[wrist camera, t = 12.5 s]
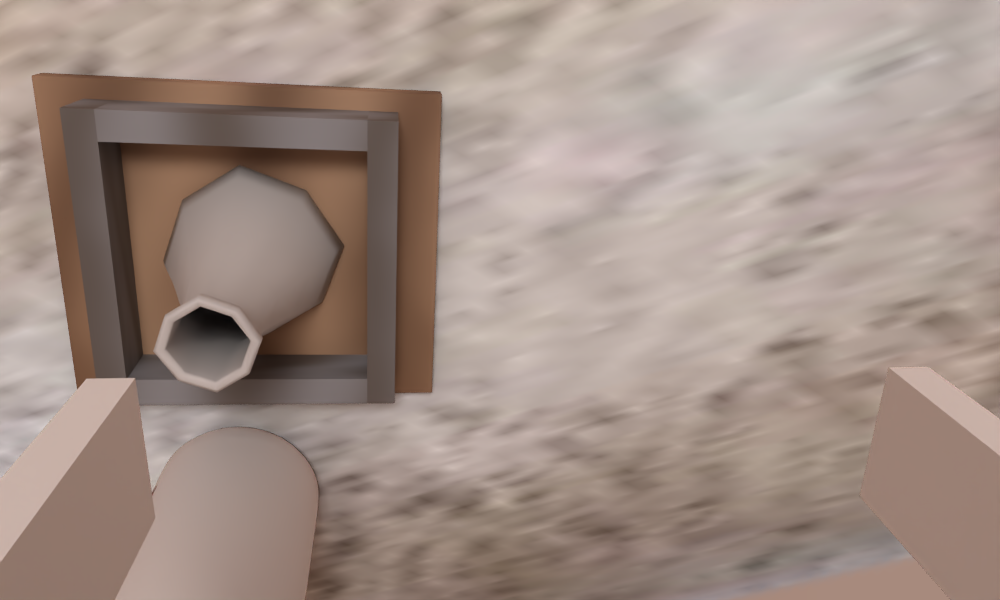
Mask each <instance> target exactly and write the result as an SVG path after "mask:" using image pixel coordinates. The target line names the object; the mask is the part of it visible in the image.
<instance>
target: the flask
mask: <svg viewBox="0 0 1000 600" xmlns="http://www.w3.org/2000/svg"><path fill="white" fill-rule="evenodd" d="M343 247H344V244H343V243H342V241H341V240H340V238H339V237H338V235H337V234H336V232H335V231H334V230H333V228H332V227H331V225H330V224H329V222H328V221H327V219H326V218H325V216H324V215H323V214H322V212H321V211H320V209H319V208H318V206H317V205H316V203H315V202H314V201H313V199H312V198H311V196H310V195H309V193H308V192H307V190H304V189H302V188H299V187H296V186H294V185H291V184H289V183H286V182H283V181H281V180H278V179H275V178H273V177H270V176H267V175H265V174H262V173H259V172H257V171H254V170H252V169H249V168H246V167H244V166H241V165H239V166H237V167H235V168H234V169H232V170H230V171H229V172H227V173H226V174H224V175H222V176H221V177H219V178H217V179H216V180H214V181H212V182H211V183H209V184H207V185H206V186H204V187H203V188H201V189H199V190H198V191H196V192H194V193H193V194H191V195H189V196H188V197H186V198H184V199H183V200H182V202H181V205H180V208H179V211H178V215H177V218H176V221H175V224H174V227H173V230H172V234H171V237H170V240H169V243H168V246H167V250H166V253H165V256H164V259H163V262H164V265H165V267H166V270H167V272H168V274H169V276H170V278H171V280H172V282H173V284H174V288H175V291H176V294H177V297H178V300H179V303H180V306H179V307H177V308H175V309H174V310H172V311H170V312H169V313H167V314H165V316H164V319H163V322H162V325H161V328H160V332H159V335H158V338H157V341H156V344H155V347H154V350H153V352H154V353H155V354H156V355H157V356H158V358H159V359H160V360H161V361H162V362H163V364H164V365H165V366H166V367H167V368H168V369H169V371H170V372H171V373H172V374H173V375H174V376H175V378H176V379H177V380H178V381H180V382H183V383H187V384H190V385H193V386H197V387H200V388H203V389H207V390H210V391H213V392H216V393H217V392H219V391H221V390H223V389H224V388H226V387H228V386H229V385H231V384H233V383H235V382H236V381H238V380H240V379H241V378H243V377H245V376H247V375H248V374H249V373H250V371H251V369H252V366H253V363H254V361H255V358H256V355H257V353H258V350H259V347H260V344H261V342H262V339H263V337H262V336H264V335H266V334H269V333H270V332H272V331H274V330H275V329H277V328H279V327H281V326H282V325H284V324H286V323H287V322H289V321H291V320H292V319H294V318H296V317H298V316H299V315H301V314H303V313H304V312H306V311H308V310H310V309H311V308H313V307H315V306H316V305H318V304H320V303H321V302H323V299H324V296H325V294H326V291H327V289H328V286H329V283H330V281H331V278H332V276H333V273H334V270H335V268H336V265H337V263H338V260H339V257H340V255H341V252H342V250H343Z"/></svg>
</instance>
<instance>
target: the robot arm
mask: <svg viewBox="0 0 1000 600" xmlns="http://www.w3.org/2000/svg"><path fill="white" fill-rule="evenodd" d="M860 497H861V498H862V500H863V501H864V502H865V503H866V504H867V505H868V506H869V508H870V509H871V510H872V511H873V512H874V513H875V514H876V516H877V517H878V518H879V519H880V520H881V521H882V522H883V523H884V525H885V526H886V527H887V528H888V529H889V530H890V531H891V533H892V534H893V535H894V536H895V537H896V538H897V539H898V541H899V542H900V543H901V544H902V545H903V546H904V547H905V548H906V550H907V551H908V552H909V553H910V554H911V555H912V556H913V558H914V559H915V560H916V561H917V562H918V563H919V564H920V566H921V567H922V568H923V569H924V570H925V571H926V572H927V573H928V575H929V576H930V577H931V578H932V579H933V580H934V581H935V583H936V584H937V585H938V586H939V587H940V588H941V589H942V591H943V592H944V593H945V594H946V595H947V596H948V597H949V598H950V600H1000V419H999V418H998V417H996V416H995V415H993V414H992V413H991V412H989V411H988V410H987V409H985V408H984V407H983V406H981V405H980V404H978V403H977V402H976V401H974V400H973V399H972V398H970V397H969V396H967V395H966V394H965V393H963V392H962V391H961V390H959V389H958V388H957V387H955V386H954V385H952V384H951V383H950V382H948V381H947V380H946V379H944V378H943V377H941V376H940V375H939V374H937V373H936V372H935V371H933V370H932V369H931V368H929V367H889V368H888V372H887V377H886V381H885V385H884V390H883V394H882V399H881V403H880V408H879V412H878V417H877V421H876V425H875V430H874V434H873V439H872V443H871V448H870V452H869V456H868V461H867V465H866V470H865V474H864V479H863V483H862V488H861V492H860ZM154 520H155V512H154V505H153V498H152V491H151V484H150V477H149V470H148V463H147V456H146V449H145V442H144V435H143V428H142V421H141V414H140V407H139V401H138V394H137V387H136V380H135V378H96V379H86V380H85V381H84V382H83V383H82V385H81V386H80V387H79V388H78V389H77V390H76V392H75V393H74V394H73V395H72V396H71V397H70V399H69V400H68V401H67V402H66V403H65V404H64V406H63V407H62V408H61V409H60V410H59V411H58V413H57V414H56V415H55V416H54V417H53V418H52V420H51V421H50V422H49V423H48V424H47V425H46V427H45V428H44V429H43V430H42V431H41V432H40V434H39V435H38V436H37V437H36V438H35V439H34V441H33V442H32V443H31V444H30V445H29V446H28V448H27V449H26V450H25V451H24V452H23V453H22V455H21V456H20V457H19V458H18V459H17V461H16V462H15V463H14V464H13V465H12V466H11V468H10V469H9V470H8V471H7V472H6V473H5V475H4V476H3V477H2V478H1V479H0V600H115V599H116V596H117V594H118V592H119V590H120V588H121V586H122V584H123V582H124V580H125V578H126V576H127V574H128V572H129V570H130V568H131V566H132V564H133V562H134V560H135V558H136V556H137V554H138V552H139V550H140V548H141V546H142V544H143V542H144V540H145V538H146V536H147V534H148V532H149V530H150V528H151V526H152V524H153V522H154Z"/></svg>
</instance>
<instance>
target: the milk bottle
mask: <svg viewBox="0 0 1000 600" xmlns="http://www.w3.org/2000/svg"><path fill="white" fill-rule="evenodd" d="M152 498H153V505H154V512H155V520H154V522H153V524H152V526H151V528H150V530H149V532H148V534H147V536H146V538H145V540H144V542H143V544H142V546H141V548H140V550H139V552H138V554H137V556H136V558H135V560H134V562H133V564H132V566H131V568H130V570H129V572H128V574H127V576H126V578H125V580H124V582H123V584H122V586H121V588H120V590H119V592H118V594H117V596H116V599H115V600H305V597H306V591H307V584H308V577H309V570H310V563H311V556H312V549H313V541H314V534H315V527H316V519H317V512H318V499H319V491H318V484H317V480H316V477H315V474H314V472H313V470H312V468H311V466H310V464H309V463H308V461H307V460H306V459H305V457H304V456H303V455H302V454H301V453H300V452H299V451H298V450H297V449H296V448H295V447H294V446H293V445H292V444H290V443H289V442H287V441H286V440H284V439H283V438H281V437H279V436H277V435H274V434H272V433H270V432H268V431H263V430H259V429H255V428H247V427H230V428H221V429H218V430H214V431H210V432H207V433H205V434H202V435H200V436H198V437H196V438H194V439H192V440H190V441H189V442H187V443H186V444H184V445H183V446H182V447H180V448H179V449H178V450H177V451H176V452H175V453H174V454H173V455H172V457H171V458H170V459H169V461H168V462H167V464H166V466H165V467H164V469H163V471H162V473H161V475H160V477H159V479H158V481H157V483H156V485H155V487H154V490H153V492H152Z"/></svg>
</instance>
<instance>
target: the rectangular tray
mask: <svg viewBox="0 0 1000 600" xmlns="http://www.w3.org/2000/svg"><path fill="white" fill-rule="evenodd" d="M32 81H33V88H34V95H35V102H36V109H37V116H38V122H39V129H40V136H41V143H42V150H43V157H44V164H45V171H46V178H47V184H48V191H49V198H50V205H51V212H52V219H53V226H54V233H55V240H56V246H57V253H58V260H59V267H60V274H61V281H62V288H63V295H64V302H65V308H66V315H67V322H68V329H69V336H70V343H71V350H72V357H73V364H74V370H75V377H76V384H77V389H78V388H79V387H80V386H81V385H82V383H83V382H84V381H85V380H86V379H96V378H135V380H136V387H137V394H138V401H139V405H208V404H342V403H394V402H395V393H415V392H432V370H433V340H434V311H435V281H436V251H437V221H438V192H439V162H440V132H441V102H442V94H441V92H438V91H416V90H395V89H373V88H352V87H330V86H309V85H288V84H266V83H245V82H223V81H202V80H180V79H159V78H138V77H116V76H95V75H73V74H52V73H40V74H36V75H32ZM239 165H241V166H244V167H246V168H249V169H252V170H254V171H257V172H259V173H262V174H265V175H267V176H270V177H273V178H275V179H278V180H281V181H283V182H286V183H289V184H291V185H294V186H296V187H299V188H302V189H304V190H307V192H308V193H309V195H310V196H311V198H312V199H313V201H314V202H315V203H316V205H317V206H318V208H319V209H320V211H321V212H322V214H323V215H324V216H325V218H326V219H327V221H328V222H329V224H330V225H331V227H332V228H333V230H334V231H335V232H336V234H337V235H338V237H339V238H340V240H341V241H342V243H343V244H344V247H343V250H342V252H341V255H340V257H339V260H338V263H337V265H336V268H335V270H334V273H333V276H332V278H331V281H330V283H329V286H328V289H327V291H326V294H325V296H324V299H323V302H321V303H320V304H318V305H316V306H315V307H313V308H311V309H310V310H308V311H306V312H304V313H303V314H301V315H299V316H298V317H296V318H294V319H292V320H291V321H289V322H287V323H286V324H284V325H282V326H281V327H279V328H277V329H275V330H274V331H272V332H270V333H269V334H266V335H264V336H262V337H263V339H262V342H261V344H260V347H259V350H258V353H257V355H256V358H255V361H254V363H253V366H252V369H251V371H250V373H249V374H248V375H247V376H245V377H243V378H241V379H240V380H238V381H236V382H235V383H233V384H231V385H229V386H228V387H226V388H224V389H223V390H221V391H219V392H217V393H216V392H213V391H210V390H207V389H203V388H200V387H197V386H193V385H190V384H187V383H183V382H180V381H178V380H177V379H176V378H175V376H174V375H173V374H172V373H171V372H170V371H169V369H168V368H167V367H166V366H165V365H164V364H163V362H162V361H161V360H160V359H159V358H158V356H157V355H156V354H155V353H154V352H153V350H154V347H155V344H156V341H157V338H158V335H159V332H160V328H161V325H162V322H163V319H164V316H165V314H167V313H169V312H170V311H172V310H174V309H175V308H177V307H179V306H180V303H179V300H178V297H177V294H176V291H175V288H174V284H173V282H172V280H171V278H170V276H169V274H168V272H167V270H166V267H165V265H164V262H163V259H164V256H165V253H166V250H167V246H168V243H169V240H170V237H171V234H172V230H173V227H174V224H175V221H176V218H177V215H178V211H179V208H180V205H181V202H182V200H183V199H184V198H186V197H188V196H189V195H191V194H193V193H194V192H196V191H198V190H199V189H201V188H203V187H204V186H206V185H207V184H209V183H211V182H212V181H214V180H216V179H217V178H219V177H221V176H222V175H224V174H226V173H227V172H229V171H230V170H232V169H234V168H235V167H237V166H239Z"/></svg>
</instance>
